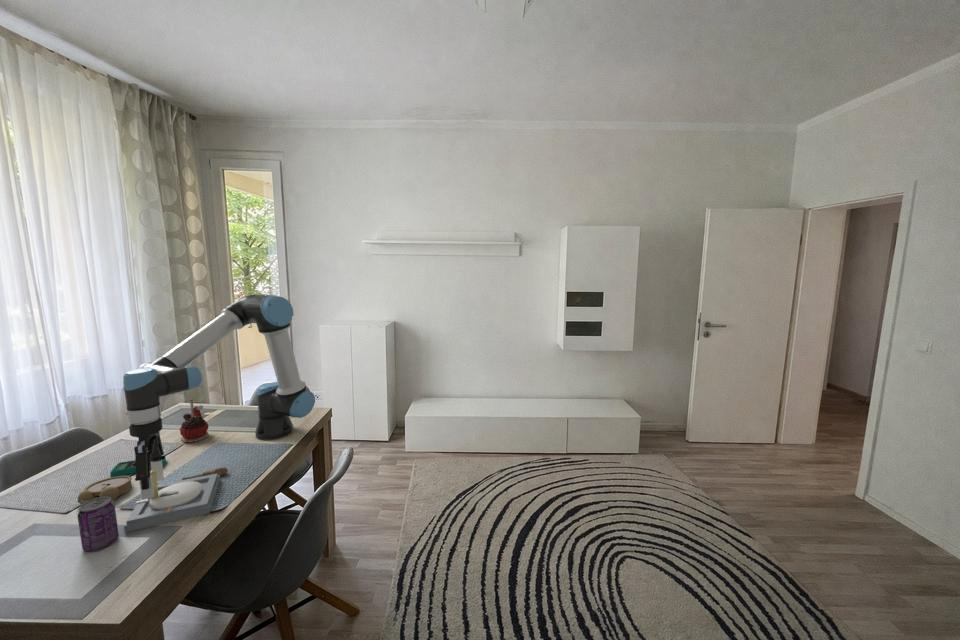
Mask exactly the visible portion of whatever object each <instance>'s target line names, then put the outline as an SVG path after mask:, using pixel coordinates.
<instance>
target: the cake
mask: <svg viewBox="0 0 960 640" xmlns="http://www.w3.org/2000/svg"><path fill="white" fill-rule="evenodd" d="M193 400H194V399H193V398H190V399H189V404H190V405H189V406H190V412H191V413H184V414H183V416H182V417H183V419H184V422H182V423H181V427H180V428H179V432H180V436H182V437H181V438H180V439H181V442H182V443H192V442H197V441H200V440H204V439H206V438H207V437H208V436H209V431H208V429H209V424H208V422H207V421H206V419H204V416H203V415H202V413H201V410H202V409H203V408H204V406H203V405H202V404H199V405H196V406H194V402H193Z"/></svg>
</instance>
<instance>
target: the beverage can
mask: <svg viewBox="0 0 960 640" xmlns="http://www.w3.org/2000/svg"><path fill="white" fill-rule="evenodd" d="M78 510H79V511H78V513H77V522H78V523H77V524H78V527H79V529H78V530H79V535H80V541H81V543H80V544H81V548H82V550H83V551H86V552H92V551H98V550H101V549H104V548H105V547H107V546H109V545H111V544H112V543H114V542H116V541H117V539H118V538H119V537H120V535H119V527H118V519H117V513H116V512H117V511H116V505H115V503H114V500H113V501H111V497H99V498H96V499H93V500H90V501H88V502H86V503H84V504H82V505H81V504H80V506H79V507H78Z"/></svg>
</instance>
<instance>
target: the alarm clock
mask: <svg viewBox="0 0 960 640" xmlns="http://www.w3.org/2000/svg"><path fill="white" fill-rule="evenodd" d="M132 480H133V478H132V477H131V476H129V475H123V476H117V477H111V476H110V477H108V478H103V479H101V480H98V481H95V482H92V483H91V484H90V485H87V486H85V488H84V490H82V491H81V492H80V493H79V494H78V497H77V503H79V504H80V506H81V505H82V504H84V503H86V502H88V501H90V500H93V499H96V498H99V497H111V501H113V502H114V501H115V500H116V499H118V497H119V496H122V495H124V494H125V493H128V492H129V491H131V490H132Z"/></svg>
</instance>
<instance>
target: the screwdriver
mask: <svg viewBox="0 0 960 640" xmlns="http://www.w3.org/2000/svg"><path fill="white" fill-rule="evenodd" d="M217 473H218V475H220V477H221V476H225V475H226V474H227V473H228V468H227V467H224V466H223V467H218V468H215V469H214V468H213V469H209V470H208V469H207V470H204V471H203V472H202V473H201V474H195V475H190V476H185V477H181V478H182V479H181V480H186V479H191V478H196V477H201V476H207V475H212V474H217Z"/></svg>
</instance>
